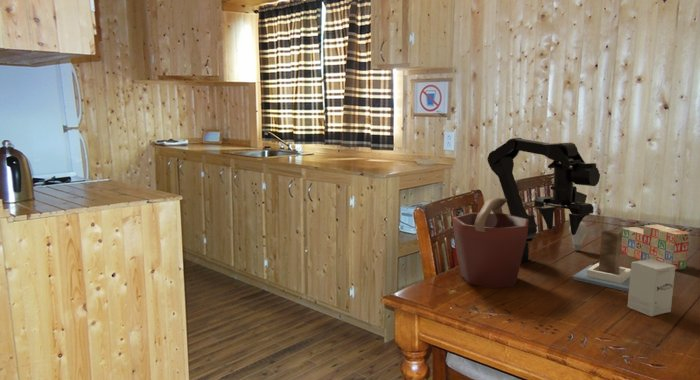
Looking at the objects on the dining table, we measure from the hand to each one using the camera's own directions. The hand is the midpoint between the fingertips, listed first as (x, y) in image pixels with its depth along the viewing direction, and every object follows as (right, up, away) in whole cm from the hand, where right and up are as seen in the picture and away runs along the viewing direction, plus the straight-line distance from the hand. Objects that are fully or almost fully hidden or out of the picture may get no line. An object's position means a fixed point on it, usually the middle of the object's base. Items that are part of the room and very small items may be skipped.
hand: (561, 231), depth 164 cm
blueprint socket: (+12, -14, -5) cm, 19 cm away
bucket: (-23, -14, -4) cm, 28 cm away
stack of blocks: (+36, -11, +14) cm, 40 cm away
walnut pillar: (+12, -13, -5) cm, 19 cm away
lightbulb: (+16, -9, +26) cm, 31 cm away
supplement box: (+11, -18, -29) cm, 36 cm away
